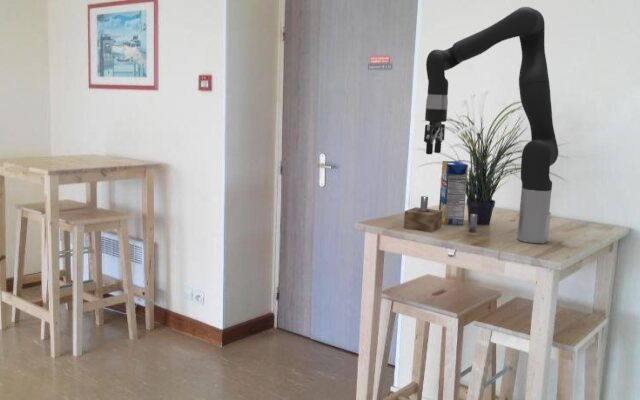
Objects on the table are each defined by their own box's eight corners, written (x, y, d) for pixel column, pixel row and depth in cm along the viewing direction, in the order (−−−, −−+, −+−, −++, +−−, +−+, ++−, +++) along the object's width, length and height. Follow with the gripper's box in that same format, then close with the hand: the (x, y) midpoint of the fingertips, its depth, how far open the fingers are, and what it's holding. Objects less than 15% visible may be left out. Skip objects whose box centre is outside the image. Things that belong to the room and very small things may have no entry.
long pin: (426, 227, 218) (429, 196, 216) (424, 228, 216) (426, 197, 214) (420, 226, 219) (422, 196, 218) (417, 227, 217) (419, 196, 216)
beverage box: (444, 224, 225) (448, 164, 221) (438, 218, 235) (442, 160, 232) (463, 225, 225) (468, 164, 221) (456, 219, 236) (460, 161, 232)
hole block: (441, 227, 219) (442, 210, 218) (430, 232, 211) (431, 214, 210) (415, 223, 225) (416, 207, 224) (403, 227, 216) (404, 211, 215)
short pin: (476, 231, 215) (478, 214, 214) (474, 232, 213) (476, 215, 212) (470, 230, 216) (471, 213, 215) (467, 231, 214) (469, 214, 213)
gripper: (439, 108, 211) (436, 155, 214) (453, 108, 224) (449, 153, 226) (419, 107, 215) (416, 154, 218) (433, 107, 227) (430, 151, 230)
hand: (433, 153), depth 222 cm, fingers open, 8 cm apart
